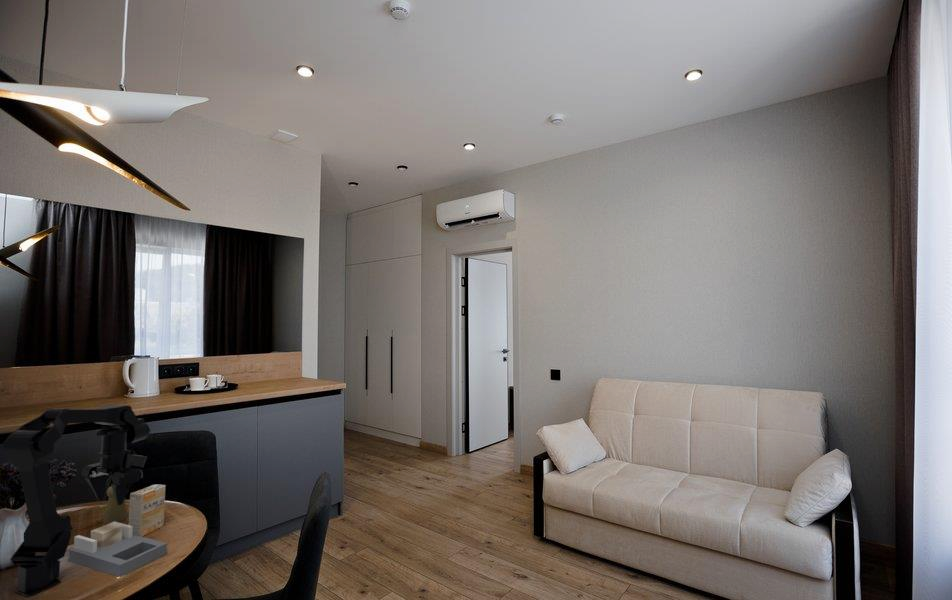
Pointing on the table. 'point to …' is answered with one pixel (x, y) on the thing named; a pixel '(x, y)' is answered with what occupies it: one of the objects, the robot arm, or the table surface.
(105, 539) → the birch block
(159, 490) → the supplement box
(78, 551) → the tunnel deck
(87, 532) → the table surface
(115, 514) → the cork
